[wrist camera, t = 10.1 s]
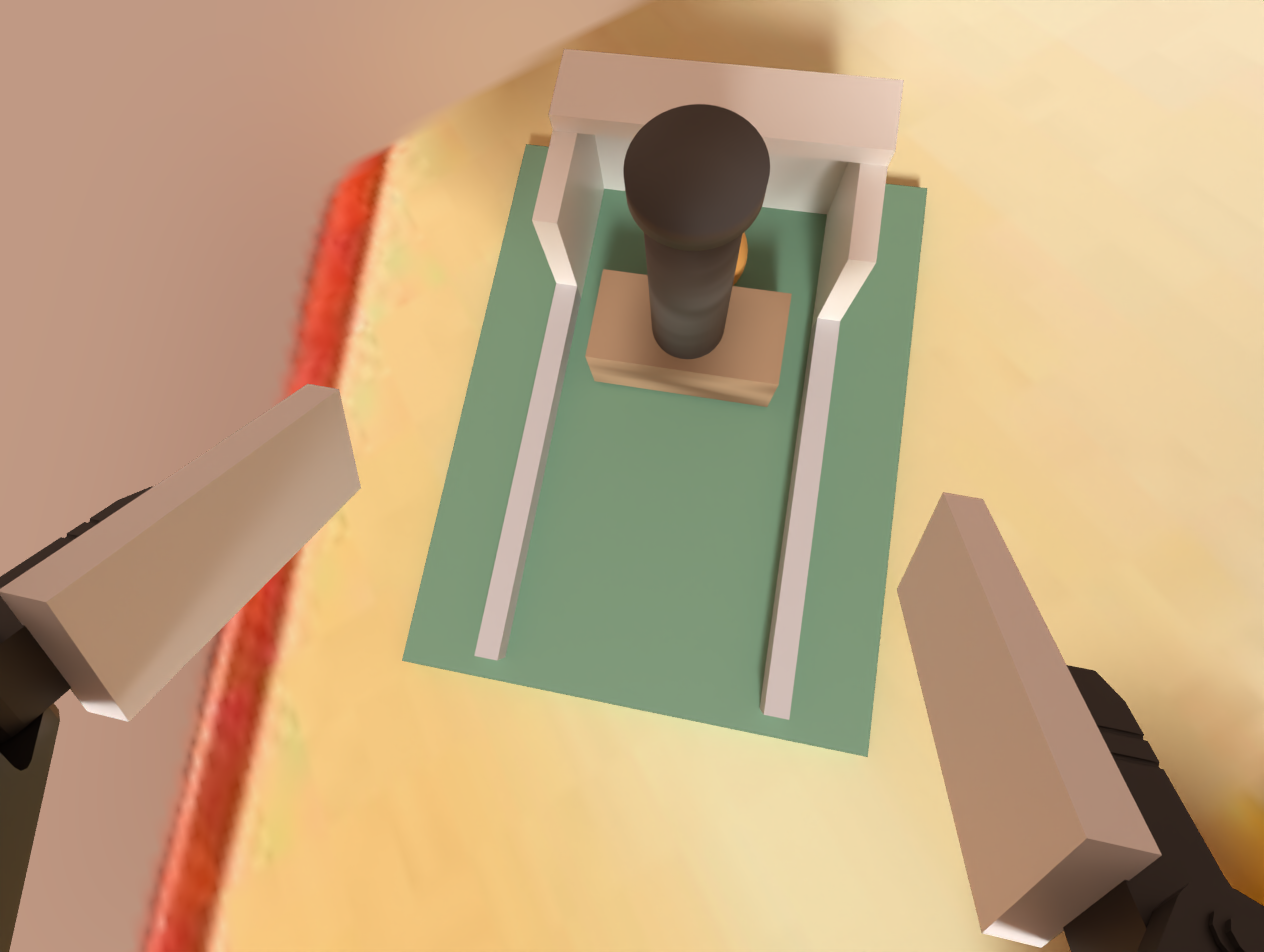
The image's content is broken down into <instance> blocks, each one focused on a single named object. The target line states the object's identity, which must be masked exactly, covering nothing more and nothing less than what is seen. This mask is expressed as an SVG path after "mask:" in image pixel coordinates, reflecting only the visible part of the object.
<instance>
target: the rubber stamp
mask: <svg viewBox="0 0 1264 952" xmlns="http://www.w3.org/2000/svg"><path fill="white" fill-rule="evenodd" d="M623 174H624V184H625V192H626V199H627V205H628V208H629V211H630V213H631V215H632V217H633V219H634V221H635V222H636V224H637V225H638V226H639V227H640V229H641V230H642V231H643V232H644V240H645V252H646V263H647V275H644V274H636V273H629V272H621V271H613V270H606V269H603V272H602V277H601V282H600V287H599V292H598V297H597V302H596V306H595V311H594V316H593V321H592V326H591V331H590V336H589V340H588V345H587V350H586V355H585V357H586V360H587V362H588V365H589V368H590V370H591V373H592V375H593V378H594V381H597V382H603V383H610V384H616V385H623V386H630V387H636V388H643V389H650V390H656V391H663V392H670V393H676V394H683V395H690V396H696V397H703V398H710V399H716V400H723V401H730V402H736V403H743V404H750V405H756V406H763V407H768V405H769V403H770V401H771V399H772V397H773V395H774V393H775V391H776V389H777V387H778V385H779V378H780V372H781V365H782V358H783V351H784V344H785V337H786V330H787V323H788V316H789V309H790V302H791V295H792V294H790V293H782V292H775V291H767V290H759V289H752V288H744V287H736V286H733V281H734V276H735V271H736V265H737V260H738V255H739V250H740V244H741V239H742V234H743V233H744V232H745V231H746V230H747V229H748V228H749V227H750V226H751V225H752V223H753V222H754V221H755V219H756V218H757V216H758V214H759V212H760V210H761V208H762V205H763V202H764V197H765V193H766V189H767V184H768V180H769V175H770V158H769V153H768V149H767V147H766V144H765V142H764V140H763V138H762V136H761V135H760V133H759V132H758V131H757V129H756V128H755V127H754V126H753V125H752V124H751V123H750V122H749V121H747V120H746V119H745V118H743V117H742V116H740V115H739V114H737V113H735V112H733V111H731V110H728V109H726V108H722V107H719V106H714V105H708V104H692V105H685V106H679V107H676V108H673V109H670V110H668V111H665V112H663V113H661V114H659V115H657V116H656V117H654V118H653V119H651V120H650V121H649V122H647V123H646V124H645V125H644V126H643V127H642V128H641V129H640V130H639V131H638V133H637V134H636V135H635V136H634V138H633V140H632V141H631V143H630V145H629V147H628V150H627V152H626V156H625V159H624V167H623Z"/></svg>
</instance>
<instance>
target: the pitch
mask: <svg viewBox="0 0 1264 952" xmlns="http://www.w3.org/2000/svg"><path fill="white" fill-rule="evenodd" d="M548 149H549V147H546V146H537V145H528V144H526V147H525V151H524V155H523V160H522V164H521V168H520V172H519V176H518V180H517V185H516V189H515V193H514V197H513V201H512V205H511V210H510V214H509V218H508V222H507V226H506V230H505V235H504V239H503V243H502V247H501V251H500V255H499V260H498V264H497V268H496V272H495V276H494V280H493V285H492V289H491V293H490V297H489V301H488V305H487V310H486V314H485V318H484V322H483V326H482V330H481V334H480V339H479V343H478V347H477V351H476V355H475V359H474V364H473V368H472V372H471V376H470V380H469V384H468V389H467V393H466V397H465V401H464V405H463V409H462V414H461V418H460V422H459V426H458V430H457V434H456V439H455V443H454V447H453V451H452V455H451V459H450V464H449V468H448V472H447V476H446V480H445V484H444V489H443V493H442V497H441V501H440V505H439V509H438V514H437V518H436V522H435V526H434V530H433V534H432V538H431V543H430V547H429V551H428V555H427V559H426V563H425V568H424V572H423V576H422V580H421V584H420V588H419V593H418V597H417V601H416V605H415V609H414V613H413V618H412V622H411V626H410V630H409V634H408V638H407V643H406V647H405V651H404V655H403V659H402V661H406V662H411V663H416V664H421V665H425V666H430V667H435V668H440V669H445V670H450V671H454V672H459V673H464V674H469V675H474V676H479V677H483V678H488V679H493V680H498V681H503V682H508V683H512V684H517V685H522V686H527V687H532V688H537V689H541V690H546V691H551V692H556V693H561V694H566V695H571V696H575V697H580V698H585V699H590V700H595V701H600V702H604V703H609V704H614V705H619V706H624V707H629V708H633V709H638V710H643V711H648V712H653V713H658V714H662V715H667V716H672V717H677V718H682V719H687V720H691V721H696V722H701V723H706V724H711V725H716V726H720V727H725V728H730V729H735V730H740V731H745V732H750V733H754V734H759V735H764V736H769V737H774V738H779V739H783V740H788V741H793V742H798V743H803V744H808V745H812V746H817V747H822V748H827V749H832V750H837V751H841V752H846V753H851V754H856V755H861V756H866V757H868V748H869V739H870V729H871V720H872V710H873V701H874V691H875V681H876V672H877V662H878V653H879V643H880V634H881V624H882V615H883V605H884V596H885V586H886V577H887V567H888V557H889V548H890V538H891V529H892V519H893V510H894V500H895V491H896V481H897V472H898V462H899V453H900V443H901V433H902V424H903V414H904V405H905V395H906V386H907V376H908V367H909V357H910V348H911V338H912V329H913V319H914V309H915V300H916V290H917V281H918V271H919V262H920V252H921V243H922V233H923V224H924V214H925V205H926V195H927V188H920V187H911V186H901V185H892V184H885V193H884V201H883V210H882V218H881V227H880V235H879V243H878V252H877V260H876V264H875V265H874V267H873V269H872V270H871V272H870V274H869V275H868V277H867V278H866V280H865V282H864V283H863V285H862V287H861V288H860V290H859V291H858V293H857V295H856V296H855V298H854V300H853V301H852V303H851V304H850V306H849V308H848V309H847V311H846V313H845V314H844V316H843V317H842V319H841V321H835V320H828V319H820V318H817V320H816V322H815V324H814V325H813V327H812V321H813V314H814V306H815V299H816V292H817V284H818V277H819V270H820V262H821V255H822V248H823V240H824V233H825V226H826V218H827V214H819V213H810V212H802V211H793V210H784V209H776V208H767V207H762V208H761V210H760V212H759V214H758V216H757V218H756V219H755V221H754V222H753V223H752V225H751V226H750V227H749V228H748V229H747V230H746V231H745V235H746V238H747V244H748V255H747V261H746V265H745V268H744V271H743V273H742V275H741V276H740V278H739V279H738V281H737V282H736V283H735V284H734V286H736V287H744V288H752V289H759V290H767V291H775V292H782V293H790V294H792V295H791V302H790V309H789V316H788V323H787V330H786V337H785V344H784V351H783V358H782V365H781V372H780V378H779V385H778V387H777V389H776V391H775V393H774V395H773V397H772V399H771V401H770V403H769V405H768V407H763V406H756V405H750V404H743V403H736V402H730V401H723V400H716V399H710V398H703V397H696V396H690V395H683V394H676V393H670V392H663V391H656V390H650V389H643V388H636V387H630V386H623V385H616V384H610V383H603V382H597V381H594V378H593V375H592V373H591V370H590V368H589V365H588V362H587V360H586V357H585V355H586V350H587V345H588V340H589V336H590V331H591V326H592V321H593V316H594V311H595V306H596V302H597V297H598V292H599V287H600V282H601V277H602V272H603V269H606V270H613V271H621V272H629V273H636V274H644V275H647V263H646V252H645V240H644V232H643V231H642V230H641V229H640V227H639V226H638V225H637V224H636V222H635V221H634V219H633V217H632V215H631V213H630V211H629V208H628V205H627V199H626V192H625V191H620V190H612V189H604V192H603V197H602V202H601V207H600V211H599V216H598V221H597V226H596V230H595V235H594V240H593V244H592V249H591V254H590V259H589V263H588V268H587V273H586V278H585V282H584V287H583V292H582V297H581V296H580V293H579V290H578V287H577V286H574V285H566V284H559V283H556V281H555V279H554V276H553V273H552V271H551V268H550V266H549V263H548V261H547V258H546V255H545V253H544V250H543V248H542V245H541V243H540V240H539V237H538V235H537V232H536V230H535V227H534V224H533V222H532V218H533V213H534V209H535V205H536V200H537V196H538V192H539V188H540V183H541V179H542V175H543V170H544V166H545V162H546V157H547V153H548ZM811 328H812V329H811Z"/></svg>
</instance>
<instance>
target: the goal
mask: <svg viewBox="0 0 1264 952" xmlns="http://www.w3.org/2000/svg"><path fill="white" fill-rule="evenodd" d="M903 82H904V80H898V79H887V78H876V77H865V76H854V75H843V74H832V73H821V72H811V71H800V70H789V69H778V68H767V67H756V66H745V65H734V64H724V63H713V62H702V61H691V60H680V59H669V58H658V57H647V56H637V55H626V54H615V53H604V52H593V51H582V50H571V49H564V51H563V55H562V60H561V64H560V68H559V72H558V77H557V81H556V85H555V89H554V94H553V98H552V102H551V106H550V111H549V118H550V122H551V126H552V129H553V132H552V136H551V140H550V145H549V149H548V153H547V157H546V162H545V166H544V170H543V175H542V179H541V183H540V188H539V192H538V196H537V200H536V205H535V209H534V213H533V218H532V222H533V224H534V227H535V230H536V232H537V235H538V237H539V240H540V243H541V245H542V248H543V250H544V253H545V255H546V258H547V261H548V263H549V266H550V268H551V271H552V273H553V276H554V279H555V281H556V283H559V284H566V285H574V286H577V287H578V290H579V293H580V296H581V297H582V292H583V287H584V282H585V278H586V273H587V268H588V263H589V259H590V254H591V249H592V244H593V240H594V235H595V230H596V226H597V221H598V216H599V211H600V207H601V202H602V197H603V192H604V189H612V190H620V191H625V184H624V174H623V167H624V159H625V156H626V152H627V150H628V147H629V145H630V143H631V141H632V140H633V138H634V136H635V135H636V134H637V133H638V131H639V130H640V129H641V128H642V127H643V126H644V125H645V124H646V123H647V122H649V121H650V120H651V119H653V118H654V117H656V116H657V115H659V114H661V113H663V112H665V111H668V110H670V109H673V108H676V107H679V106H685V105H692V104H708V105H714V106H719V107H722V108H726V109H728V110H731V111H733V112H735V113H737V114H739V115H740V116H742V117H743V118H745V119H746V120H747V121H749V122H750V123H751V124H752V125H753V126H754V127H755V128H756V129H757V131H758V132H759V133H760V135H761V136H762V138H763V140H764V142H765V144H766V147H767V149H768V153H769V158H770V175H769V180H768V184H767V189H766V193H765V197H764V202H763V205H762V207H767V208H776V209H784V210H793V211H802V212H810V213H819V214H827V218H826V226H825V233H824V240H823V248H822V255H821V262H820V270H819V277H818V284H817V292H816V299H815V306H814V314H813V321H812V327H813V325H814V324H815V322H816V320H817V318H820V319H828V320H835V321H841V319H842V317H843V316H844V314H845V313H846V311H847V309H848V308H849V306H850V304H851V303H852V301H853V300H854V298H855V296H856V295H857V293H858V291H859V290H860V288H861V287H862V285H863V283H864V282H865V280H866V278H867V277H868V275H869V274H870V272H871V270H872V269H873V267H874V265H875V264H876V260H877V252H878V243H879V235H880V227H881V218H882V210H883V201H884V193H885V184H886V176H887V168H888V164H889V163H890V161H891V159H892V157H893V155H894V153H895V150H896V141H897V133H898V124H899V116H900V107H901V99H902V90H903ZM811 329H812V328H811Z"/></svg>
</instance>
